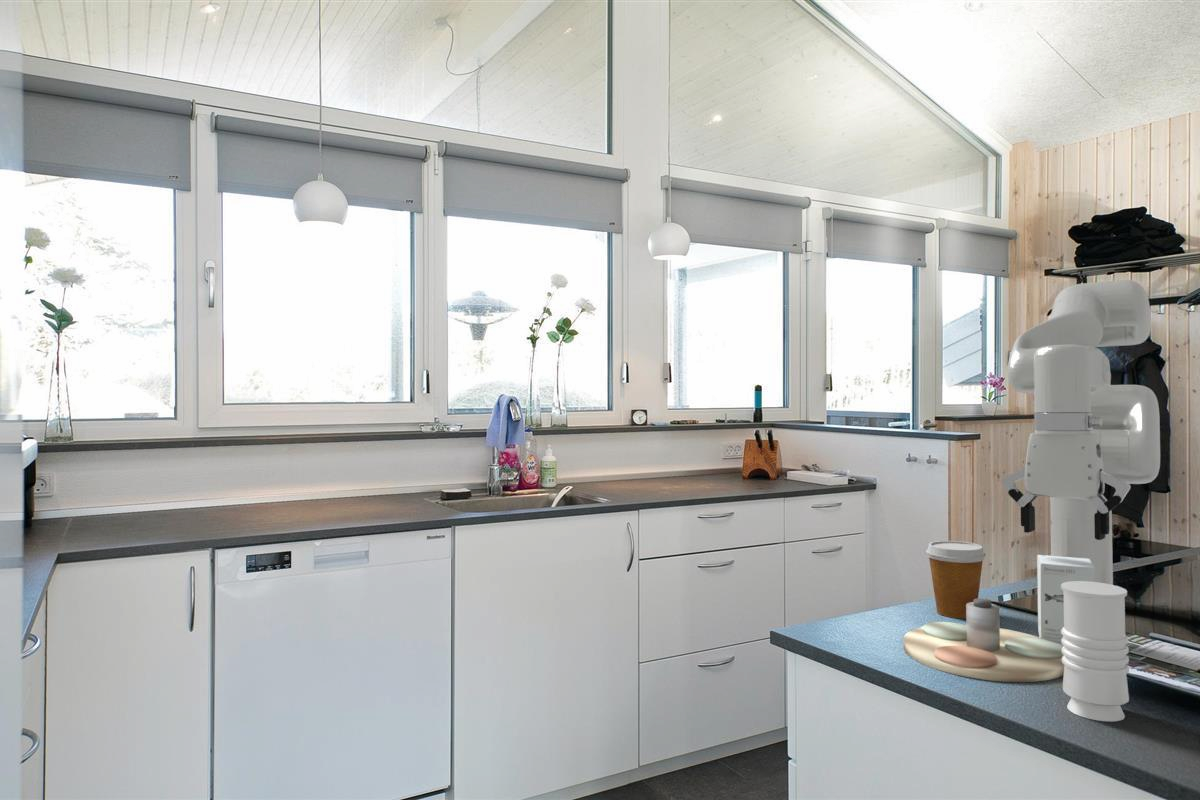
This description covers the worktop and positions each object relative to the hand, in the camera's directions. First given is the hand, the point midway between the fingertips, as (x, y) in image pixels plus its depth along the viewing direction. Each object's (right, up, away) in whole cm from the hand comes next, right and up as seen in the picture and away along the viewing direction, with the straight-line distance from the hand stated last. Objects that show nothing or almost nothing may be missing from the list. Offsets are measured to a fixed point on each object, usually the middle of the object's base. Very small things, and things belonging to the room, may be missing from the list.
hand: (1063, 535), depth 118 cm
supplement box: (+1, -17, +1) cm, 17 cm away
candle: (-12, -17, -26) cm, 33 cm away
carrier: (-15, -17, -5) cm, 23 cm away
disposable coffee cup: (-9, -17, +16) cm, 25 cm away
